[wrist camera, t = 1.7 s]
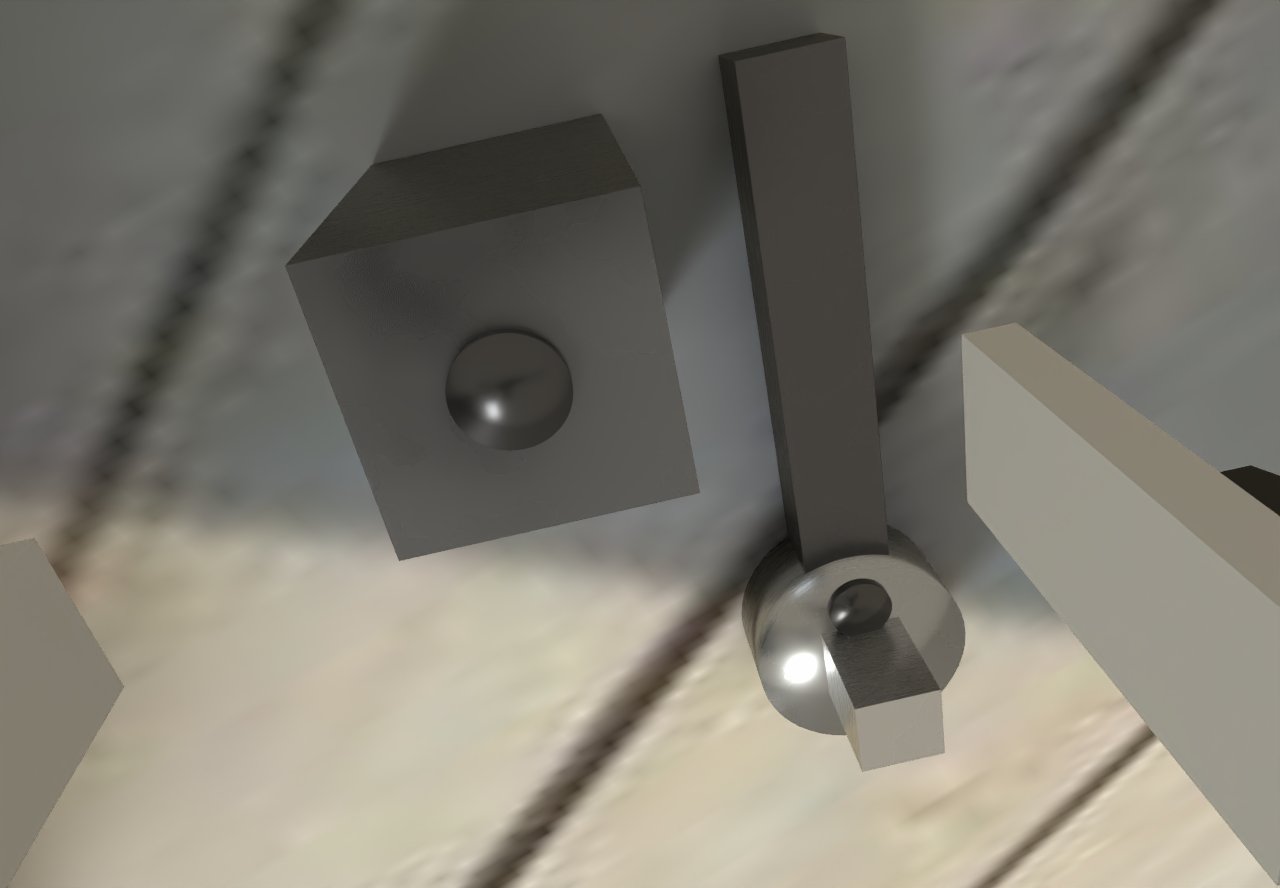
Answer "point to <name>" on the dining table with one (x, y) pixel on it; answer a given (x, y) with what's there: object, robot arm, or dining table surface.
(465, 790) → the dining table surface
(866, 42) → the dining table surface
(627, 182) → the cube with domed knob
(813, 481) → the ratchet
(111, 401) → the dining table surface
